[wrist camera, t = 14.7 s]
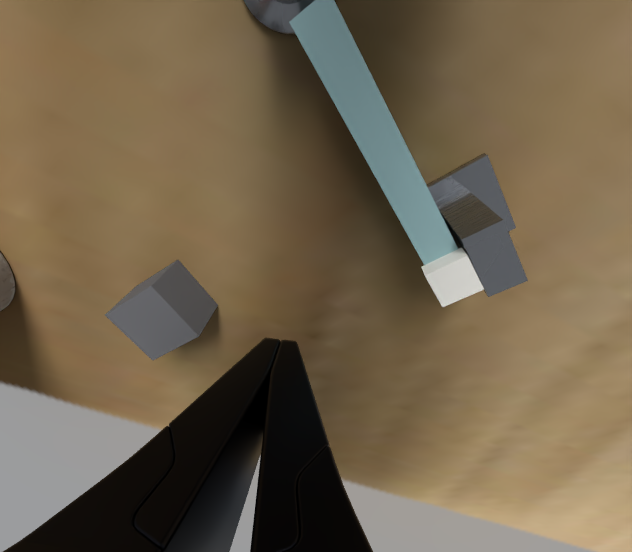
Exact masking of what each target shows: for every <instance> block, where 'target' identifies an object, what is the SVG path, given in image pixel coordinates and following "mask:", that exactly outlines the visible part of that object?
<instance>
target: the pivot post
mask: <svg viewBox="0 0 632 552" xmlns="http://www.w3.org/2000/svg"><path fill="white" fill-rule="evenodd" d="M313 1H315V0H244V2H245V4H246V5H247V7H248V9H249V10H250V11H251V13H252V14H253V15H254V16H255V17H256V18H257V19H258V20H259V21H260V22H261V23H262V24H264V25H265V26H267V27H268V28H270V29H272V30H273V31H276V32H279V33H283V34H295V32H294V30H293V28H292V26H291V25H290V23H289V22H290V21H291V20H292V19H293V18H295V17H296V16H297V15H298V14H299V13H300V12H302V11H303V10H304V9H305V8H306V7H307V6H309V5H310V4H311V3H312V2H313Z"/></svg>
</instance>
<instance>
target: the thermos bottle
mask: <svg viewBox="0 0 632 552" xmlns="http://www.w3.org/2000/svg"><path fill="white" fill-rule="evenodd" d="M14 293H15V281H14V277H13V273H12V271H11V269H10V267H9V264H8V263H7V261H6V259H5V258H4V256H3V255H2V253H1V252H0V311H1V310H3V309H4V308H5V307H7V306H8V305H9V304H10V302H11V301H12V299H13V297H14Z"/></svg>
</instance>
